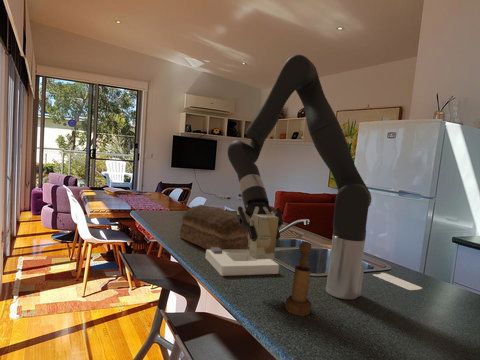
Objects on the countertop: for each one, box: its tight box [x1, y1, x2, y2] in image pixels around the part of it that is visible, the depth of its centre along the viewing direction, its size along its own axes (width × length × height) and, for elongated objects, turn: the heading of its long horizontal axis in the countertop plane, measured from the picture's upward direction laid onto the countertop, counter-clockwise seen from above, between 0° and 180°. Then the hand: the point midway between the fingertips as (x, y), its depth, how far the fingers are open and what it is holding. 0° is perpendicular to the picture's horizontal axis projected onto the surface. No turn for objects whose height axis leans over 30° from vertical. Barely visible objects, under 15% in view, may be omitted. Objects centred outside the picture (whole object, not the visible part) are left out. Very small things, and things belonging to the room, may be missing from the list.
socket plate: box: [204, 247, 280, 277], centre depth 125 cm, size 20×18×4 cm
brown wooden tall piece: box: [284, 241, 312, 317], centre depth 93 cm, size 7×6×18 cm
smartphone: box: [371, 272, 425, 292], centre depth 126 cm, size 8×1×16 cm
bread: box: [179, 204, 249, 250], centre depth 147 cm, size 15×32×16 cm, turn 42°
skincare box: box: [249, 214, 279, 260], centre depth 103 cm, size 6×4×12 cm
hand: (266, 239), depth 102 cm, fingers closed on skincare box, 6 cm apart
